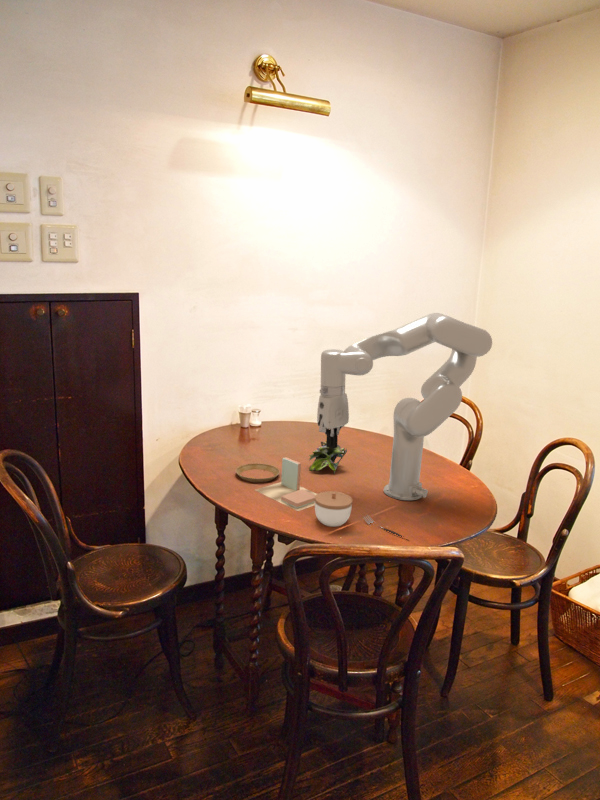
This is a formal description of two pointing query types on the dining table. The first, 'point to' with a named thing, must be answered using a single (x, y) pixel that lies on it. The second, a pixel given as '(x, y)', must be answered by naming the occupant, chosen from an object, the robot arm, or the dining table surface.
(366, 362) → the robot arm
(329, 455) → the passion flower
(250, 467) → the plant saucer
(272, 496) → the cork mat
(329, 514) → the lidded jar
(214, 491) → the dining table surface
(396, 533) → the fork
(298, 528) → the dining table surface
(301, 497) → the tile
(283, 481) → the tile
